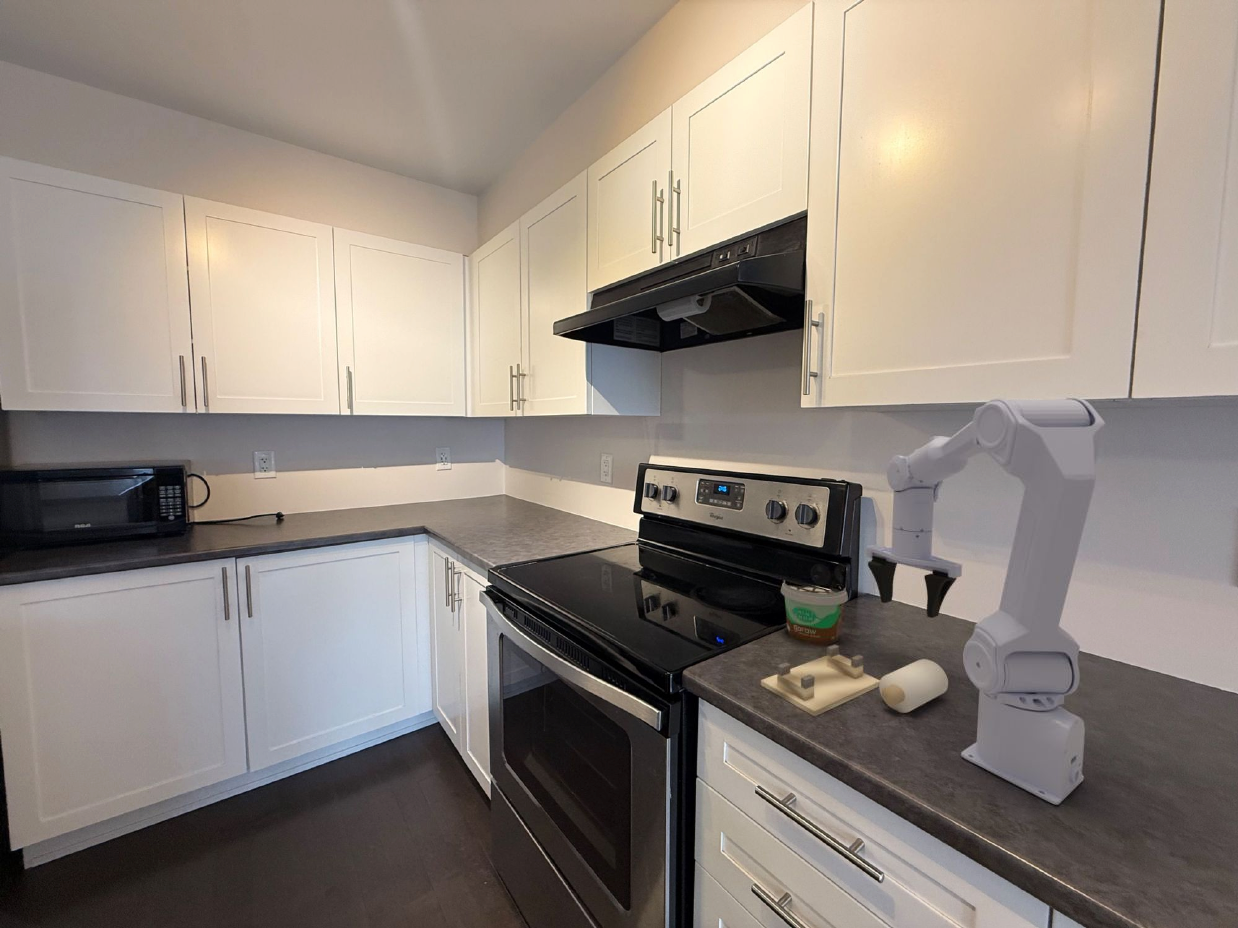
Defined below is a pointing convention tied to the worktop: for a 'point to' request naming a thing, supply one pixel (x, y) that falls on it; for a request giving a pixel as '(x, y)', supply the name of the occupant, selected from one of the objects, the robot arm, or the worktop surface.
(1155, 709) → the worktop surface
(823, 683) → the cradle
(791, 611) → the food container
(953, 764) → the worktop surface
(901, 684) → the white cylinder with cap
